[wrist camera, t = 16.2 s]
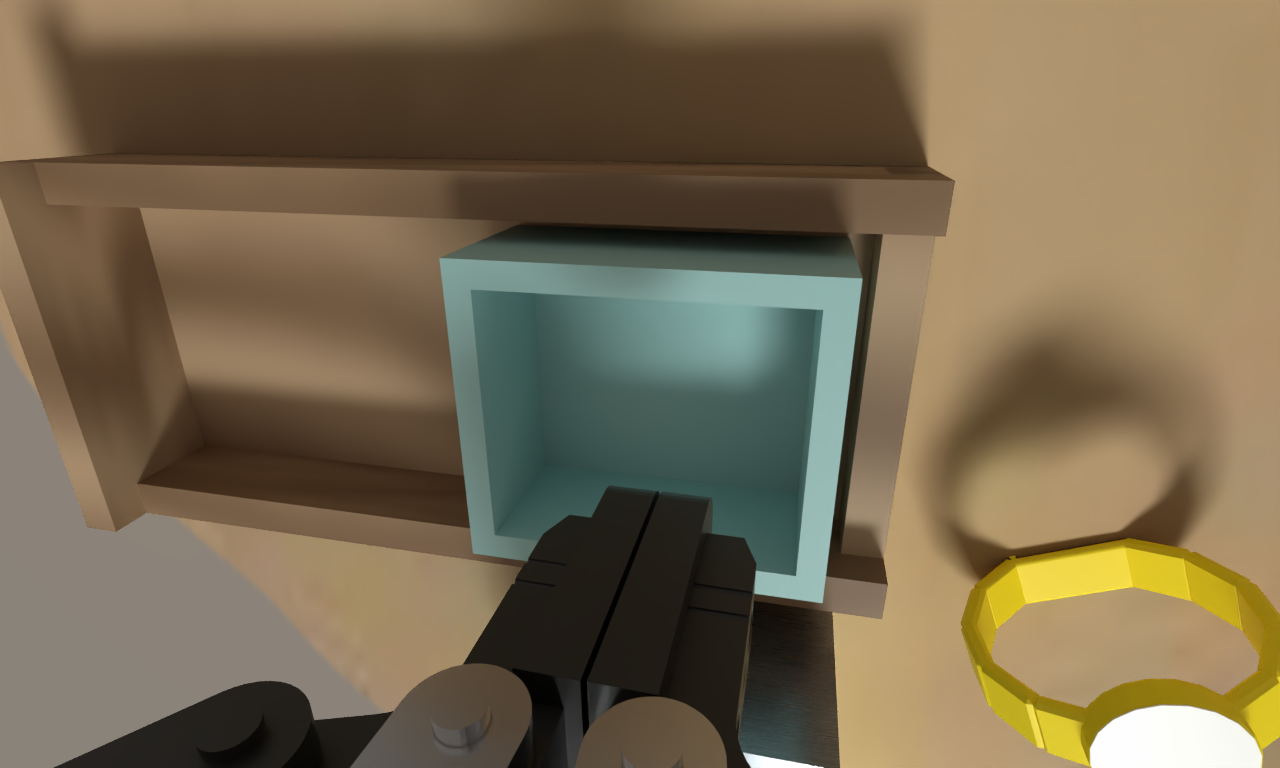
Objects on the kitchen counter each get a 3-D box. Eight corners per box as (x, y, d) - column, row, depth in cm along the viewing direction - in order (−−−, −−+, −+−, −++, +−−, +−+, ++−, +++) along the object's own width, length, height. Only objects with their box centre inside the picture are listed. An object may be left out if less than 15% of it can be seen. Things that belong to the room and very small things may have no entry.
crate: (516, 224, 17) (439, 258, 14) (849, 237, 16) (862, 278, 12) (533, 470, 20) (473, 553, 16) (819, 503, 18) (822, 603, 15)
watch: (966, 619, 20) (1003, 816, 14) (942, 539, 19) (972, 715, 14) (1223, 593, 17) (1379, 817, 12) (1208, 500, 16) (1367, 696, 11)
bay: (112, 153, 20) (-45, 165, 16) (928, 166, 15) (965, 187, 12) (198, 461, 23) (87, 527, 20) (871, 545, 19) (886, 649, 15)
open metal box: (562, 534, 21) (468, 699, 15) (830, 569, 20) (840, 770, 14) (572, 725, 24) (497, 924, 18) (805, 770, 23) (804, 1004, 17)
